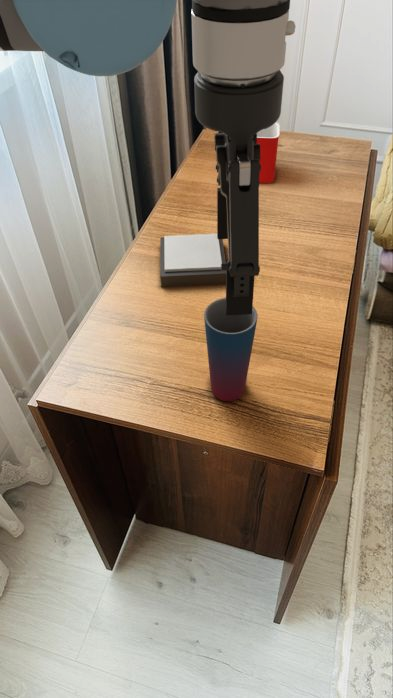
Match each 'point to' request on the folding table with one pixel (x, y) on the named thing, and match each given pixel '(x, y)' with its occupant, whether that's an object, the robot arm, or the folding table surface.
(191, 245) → the scale
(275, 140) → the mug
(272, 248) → the folding table surface
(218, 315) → the cup
